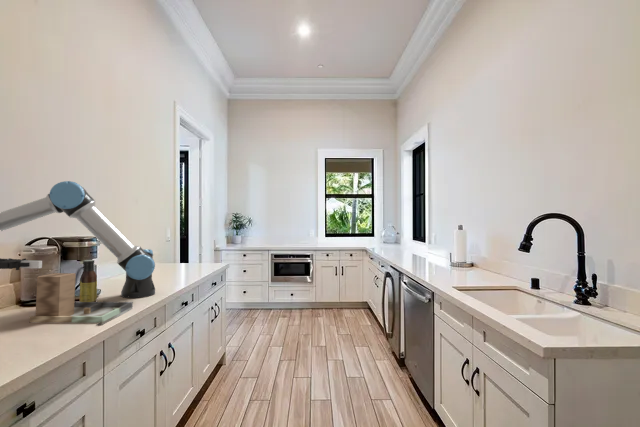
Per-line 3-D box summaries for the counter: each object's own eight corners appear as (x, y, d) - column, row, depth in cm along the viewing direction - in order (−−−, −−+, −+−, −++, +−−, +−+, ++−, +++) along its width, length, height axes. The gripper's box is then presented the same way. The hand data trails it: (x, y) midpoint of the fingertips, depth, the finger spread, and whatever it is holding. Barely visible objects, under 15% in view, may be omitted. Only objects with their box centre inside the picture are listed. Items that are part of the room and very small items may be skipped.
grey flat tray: (29, 325, 113) (29, 316, 113) (71, 308, 134) (71, 301, 134) (101, 325, 114) (102, 316, 114) (132, 309, 135) (132, 302, 135)
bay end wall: (100, 324, 115) (100, 316, 115) (116, 316, 125) (116, 308, 125) (103, 324, 115) (103, 316, 115) (119, 316, 125) (119, 308, 125)
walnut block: (35, 320, 115) (37, 276, 115) (52, 314, 123) (54, 273, 123) (58, 320, 115) (60, 276, 116) (73, 314, 123) (75, 273, 124)
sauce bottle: (86, 302, 144) (88, 259, 145) (99, 303, 144) (101, 259, 144) (75, 306, 138) (76, 260, 138) (88, 306, 137) (90, 261, 138)
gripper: (-10, 270, 124) (53, 271, 126) (-46, 276, 111) (25, 277, 113) (-9, 251, 125) (54, 253, 126) (-44, 255, 112) (26, 256, 113)
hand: (40, 264), depth 120 cm, fingers closed
